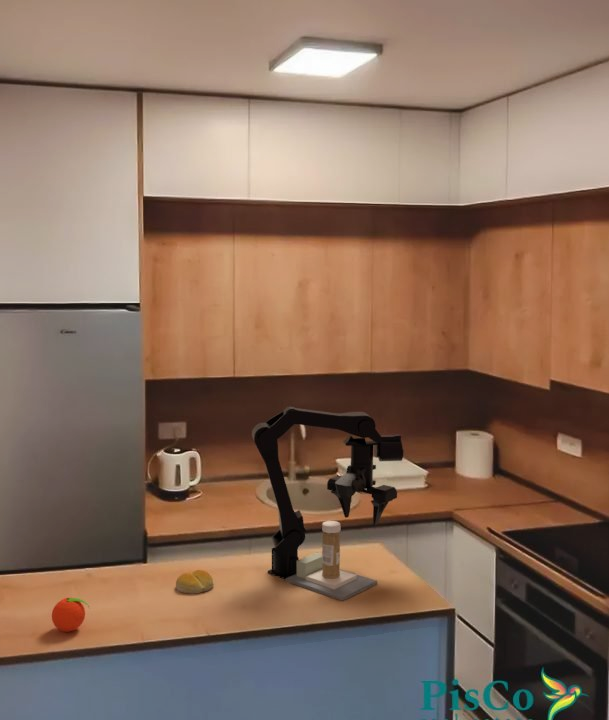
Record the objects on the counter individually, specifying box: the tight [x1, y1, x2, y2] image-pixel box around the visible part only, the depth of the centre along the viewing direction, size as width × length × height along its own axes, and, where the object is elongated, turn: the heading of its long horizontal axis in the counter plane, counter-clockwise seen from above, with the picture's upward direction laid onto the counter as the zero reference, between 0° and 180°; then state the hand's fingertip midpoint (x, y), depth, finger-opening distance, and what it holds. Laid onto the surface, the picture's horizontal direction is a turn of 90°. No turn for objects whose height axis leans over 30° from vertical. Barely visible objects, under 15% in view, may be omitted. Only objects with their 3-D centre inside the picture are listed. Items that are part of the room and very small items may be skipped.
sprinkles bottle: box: [321, 520, 341, 578], centre depth 200 cm, size 5×5×14 cm
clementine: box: [51, 597, 90, 633], centre depth 173 cm, size 8×7×7 cm
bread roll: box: [175, 569, 215, 594], centre depth 197 cm, size 8×9×4 cm
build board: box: [285, 552, 378, 601], centre depth 201 cm, size 18×14×5 cm
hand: (360, 520), depth 209 cm, fingers open, 9 cm apart
